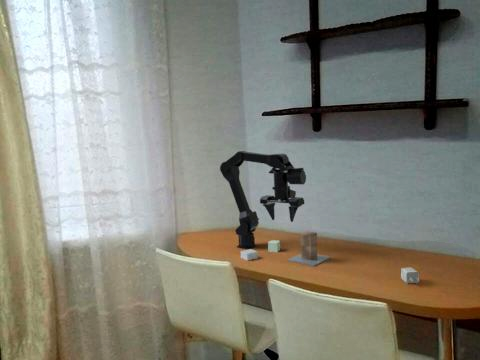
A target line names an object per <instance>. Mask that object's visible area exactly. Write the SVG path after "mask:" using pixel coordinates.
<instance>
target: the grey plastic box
mask: <svg viewBox="0 0 480 360" xmlns="http://www.w3.org/2000/svg"><path fill="white" fill-rule="evenodd" d="M258 254H259V253H258V251H257V250H254V249H251V248H249V249H245V250H244V249H243V250H240V259H242V258H243V259H242V260H245V261H246V262H247V261H248V260H249V261H251V260H252V259H253V260H256V259H259V257H258V256H259V255H258ZM253 260H252V261H253Z"/></svg>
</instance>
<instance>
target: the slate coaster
mask: <svg viewBox="0 0 480 360" xmlns="http://www.w3.org/2000/svg"><path fill="white" fill-rule="evenodd" d="M331 258H332V257H331V256H328V255H321V254H318V253H317V258H316V259H313V260H306V259H301V253H299V254H297V255H294V256H292V257H290V258H288V259H287V261H288V262H292V263H296V264H297V263H298V264H301V265H305V266H306V265H307V266H310V267H316V266H318V265H320V264H321V263H325V262H326V261H328V260H330V259H331Z"/></svg>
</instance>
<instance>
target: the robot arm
mask: <svg viewBox="0 0 480 360" xmlns="http://www.w3.org/2000/svg"><path fill="white" fill-rule="evenodd" d="M244 162H252V163H258V164H264V165H267V166H268V167H271V169H270V170H269V171H268V174H273V186H272V190H274V193H273V194H274V195H262V196H261V197H260V198H259V204H261V205H262V206H263V207H264V209H265V210H267V213H268V214H269V216H270V218H271V220H272V221H274V220H275V218H276V217H275V207H276V206H275V205H276V203H280V204H288V205H289V206H288V210H289V211H288V213H289V221H290V222H291V223H293V222H294V219H295V217H296V213H297V212H298V211H297V210H298V209H299V208H300V207H302V205H305V199H304V197H299V196H296V195H297V191H296V190H293V189H291V186H290V185H305V183H306V181H307V175H306V171H305V170H304V167H294V165H293V164H292V163H291V161H290V159H289V156H288V155H287V154H286V153H273V154H267V153H259V152H253V151H245V150H240V151H237V152H236V153H235V154H234V155H232V156H231V157H230V158H228V159H227V160H226V161H223V162H221V164H220V166H219V171H220V173H221V175H222V176H223V178H224V179H225V180H226V181H227V182H228V183H229V184H228V185H229V187H230V190H231V193H232V196H233V198H234V200H235V203H236V207H237V210H238V212H239V215H238V222H239V225H238V227H236V229H235V230H234V231H235V234H236V235H238V245H236V248H240V249H245V250H249V249H251V248H255V247H256V246H257V244H256V243H255V242H256V241H255V240H256V239H255V236H254V235H255V234H254V232H256V229H257V228H258V226H259V224H260V223H259V220H260V218H259V217H258V214H257V211H253V210H252V209H251V208H250V206H249V203H248V199H247V197H246V195H245V192H244V188H243V186H242V183H241V180H240V167H241V166H242V165H243V164H244Z"/></svg>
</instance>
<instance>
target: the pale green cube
mask: <svg viewBox="0 0 480 360" xmlns="http://www.w3.org/2000/svg"><path fill="white" fill-rule="evenodd" d="M267 245H268V246H267V250H268V251H267V252H271V253H278V252H279V251H280V250H281V241H280V240H277V239H276V240H275V239H270V240H269V241H268V242H267Z"/></svg>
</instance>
